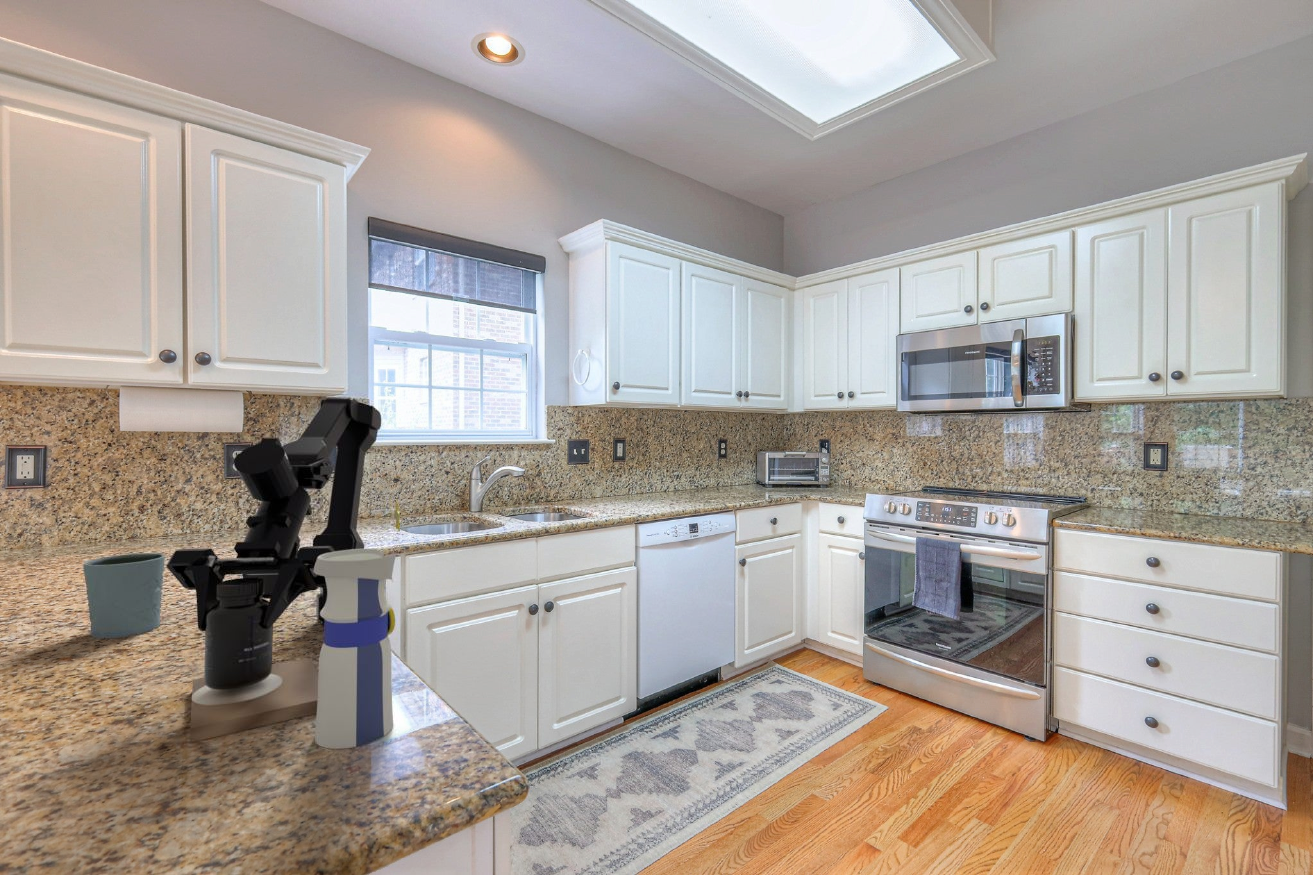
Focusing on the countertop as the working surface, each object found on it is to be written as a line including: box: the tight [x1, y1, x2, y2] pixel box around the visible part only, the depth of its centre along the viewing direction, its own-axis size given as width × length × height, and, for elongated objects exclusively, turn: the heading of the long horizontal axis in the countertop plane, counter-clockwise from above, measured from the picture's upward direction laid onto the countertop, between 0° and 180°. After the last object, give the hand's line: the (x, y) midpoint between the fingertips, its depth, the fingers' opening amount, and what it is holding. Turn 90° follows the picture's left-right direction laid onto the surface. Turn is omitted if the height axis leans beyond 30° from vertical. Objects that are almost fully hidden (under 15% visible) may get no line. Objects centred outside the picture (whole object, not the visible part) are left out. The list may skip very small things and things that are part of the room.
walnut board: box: [189, 657, 318, 744], centre depth 73 cm, size 13×16×2 cm
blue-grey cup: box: [82, 552, 166, 640], centre depth 99 cm, size 10×10×12 cm
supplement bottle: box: [203, 577, 274, 690], centre depth 73 cm, size 7×7×12 cm
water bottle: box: [313, 501, 401, 750], centre depth 66 cm, size 8×9×25 cm
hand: (234, 628), depth 72 cm, fingers closed on supplement bottle, 7 cm apart
